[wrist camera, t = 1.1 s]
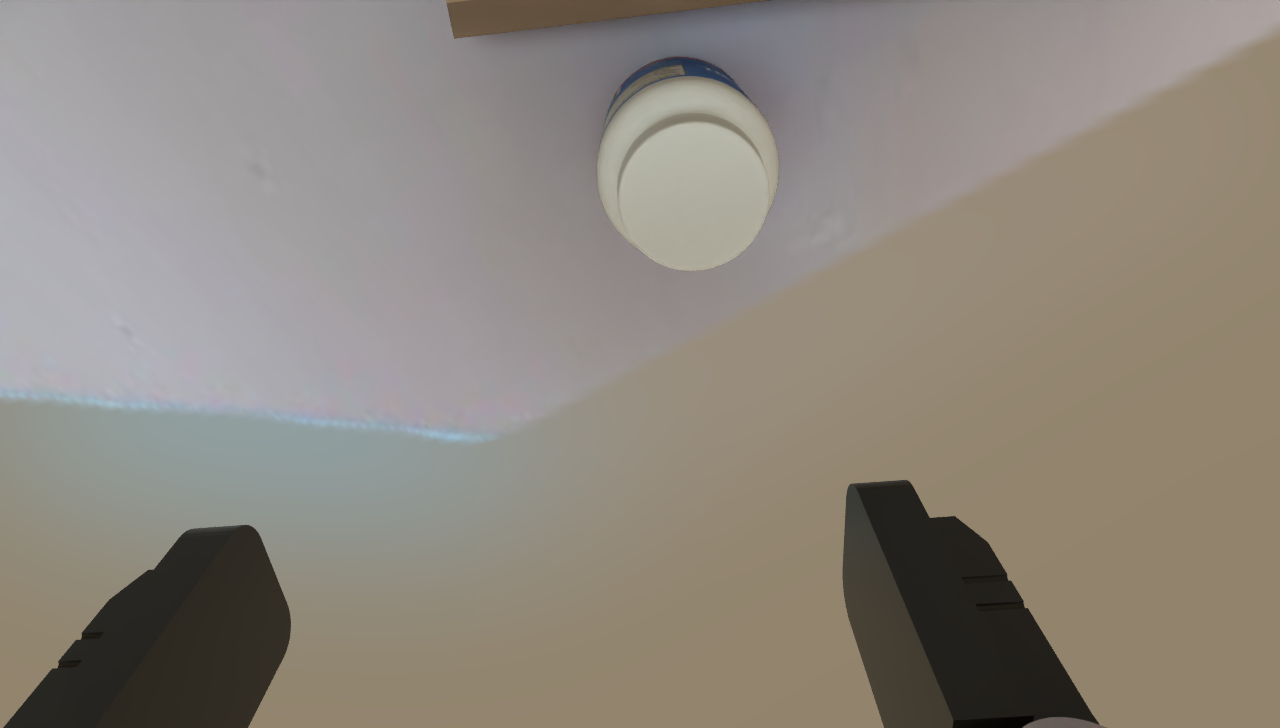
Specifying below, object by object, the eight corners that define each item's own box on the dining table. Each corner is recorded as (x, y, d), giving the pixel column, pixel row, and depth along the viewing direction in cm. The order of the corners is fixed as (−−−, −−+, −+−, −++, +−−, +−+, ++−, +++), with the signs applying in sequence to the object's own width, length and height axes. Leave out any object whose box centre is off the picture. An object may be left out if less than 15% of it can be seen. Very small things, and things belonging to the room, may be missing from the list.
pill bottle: (775, 154, 29) (835, 237, 20) (653, 228, 30) (662, 335, 22) (702, 20, 27) (736, 50, 18) (575, 105, 28) (550, 171, 20)
